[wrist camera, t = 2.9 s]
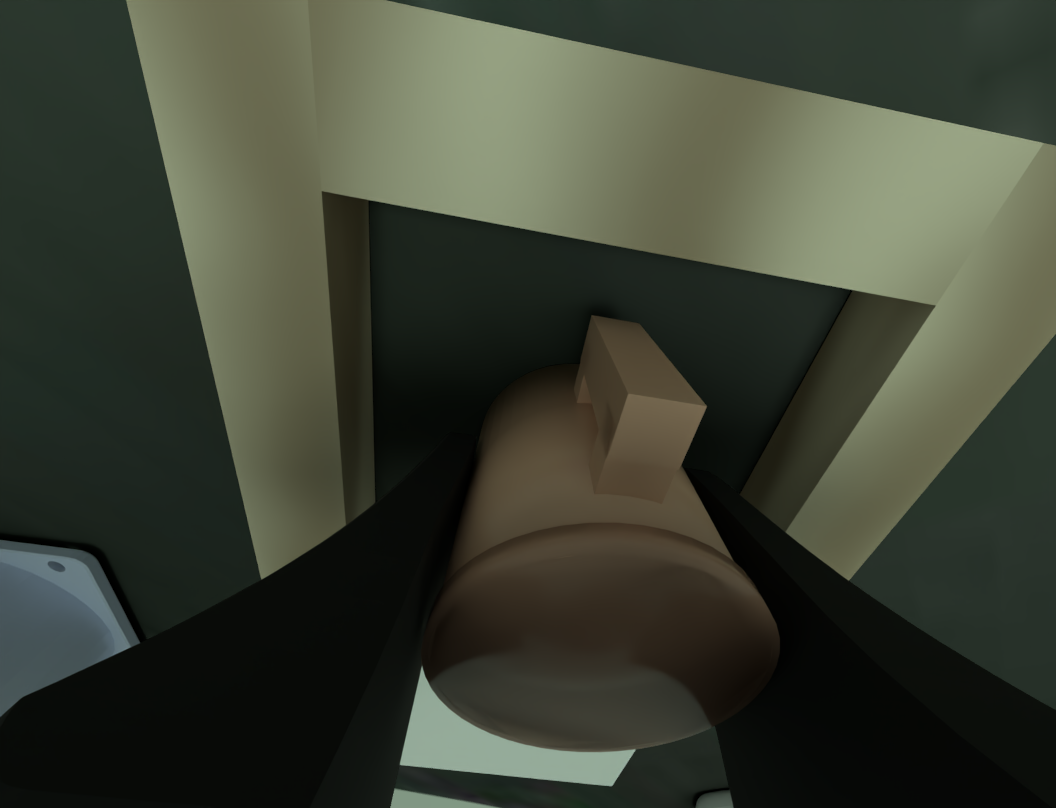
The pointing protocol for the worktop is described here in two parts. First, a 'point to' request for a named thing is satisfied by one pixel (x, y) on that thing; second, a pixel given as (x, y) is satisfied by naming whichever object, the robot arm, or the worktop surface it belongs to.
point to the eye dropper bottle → (715, 800)
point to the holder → (582, 235)
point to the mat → (494, 748)
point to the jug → (594, 566)
